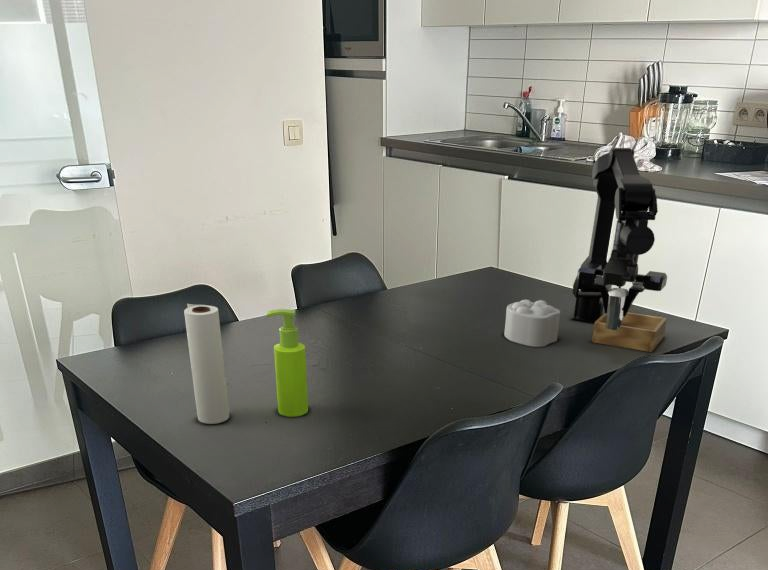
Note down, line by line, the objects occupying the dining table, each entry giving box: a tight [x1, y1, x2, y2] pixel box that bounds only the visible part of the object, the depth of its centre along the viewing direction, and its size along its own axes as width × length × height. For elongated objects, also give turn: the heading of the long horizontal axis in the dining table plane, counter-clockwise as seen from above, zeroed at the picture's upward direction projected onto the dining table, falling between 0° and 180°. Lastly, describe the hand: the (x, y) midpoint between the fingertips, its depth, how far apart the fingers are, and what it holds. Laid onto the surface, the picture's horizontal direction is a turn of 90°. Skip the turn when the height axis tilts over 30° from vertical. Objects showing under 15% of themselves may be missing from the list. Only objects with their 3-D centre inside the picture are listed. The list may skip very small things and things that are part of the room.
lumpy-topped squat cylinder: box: [503, 299, 561, 348], centre depth 190 cm, size 10×13×9 cm
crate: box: [591, 311, 668, 353], centre depth 190 cm, size 15×13×5 cm
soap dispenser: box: [265, 308, 309, 418], centre depth 147 cm, size 6×7×20 cm
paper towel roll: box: [183, 303, 230, 425], centre depth 144 cm, size 7×6×21 cm
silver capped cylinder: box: [606, 287, 629, 330], centre depth 176 cm, size 4×5×10 cm
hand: (615, 314), depth 177 cm, fingers closed on silver capped cylinder, 4 cm apart
